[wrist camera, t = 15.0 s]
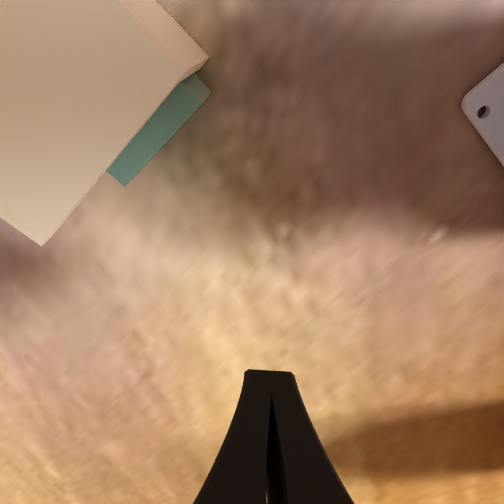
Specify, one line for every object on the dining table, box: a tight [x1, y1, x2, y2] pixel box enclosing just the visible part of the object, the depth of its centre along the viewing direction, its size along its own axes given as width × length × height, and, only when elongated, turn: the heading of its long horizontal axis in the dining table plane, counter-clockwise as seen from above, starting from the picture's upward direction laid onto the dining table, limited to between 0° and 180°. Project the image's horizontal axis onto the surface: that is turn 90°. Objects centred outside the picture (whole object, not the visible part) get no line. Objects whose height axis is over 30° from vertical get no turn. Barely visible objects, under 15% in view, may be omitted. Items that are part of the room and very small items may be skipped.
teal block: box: [107, 73, 212, 186], centre depth 15 cm, size 8×4×4 cm, turn 43°
